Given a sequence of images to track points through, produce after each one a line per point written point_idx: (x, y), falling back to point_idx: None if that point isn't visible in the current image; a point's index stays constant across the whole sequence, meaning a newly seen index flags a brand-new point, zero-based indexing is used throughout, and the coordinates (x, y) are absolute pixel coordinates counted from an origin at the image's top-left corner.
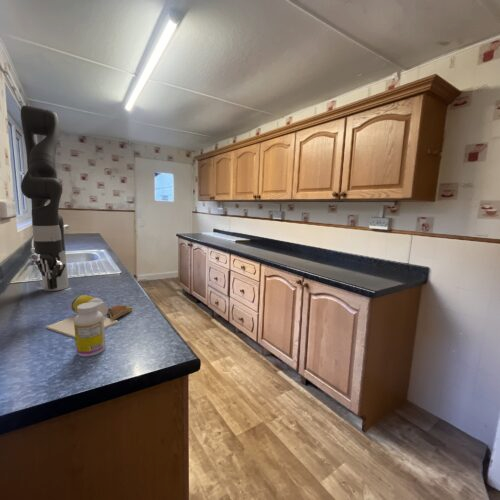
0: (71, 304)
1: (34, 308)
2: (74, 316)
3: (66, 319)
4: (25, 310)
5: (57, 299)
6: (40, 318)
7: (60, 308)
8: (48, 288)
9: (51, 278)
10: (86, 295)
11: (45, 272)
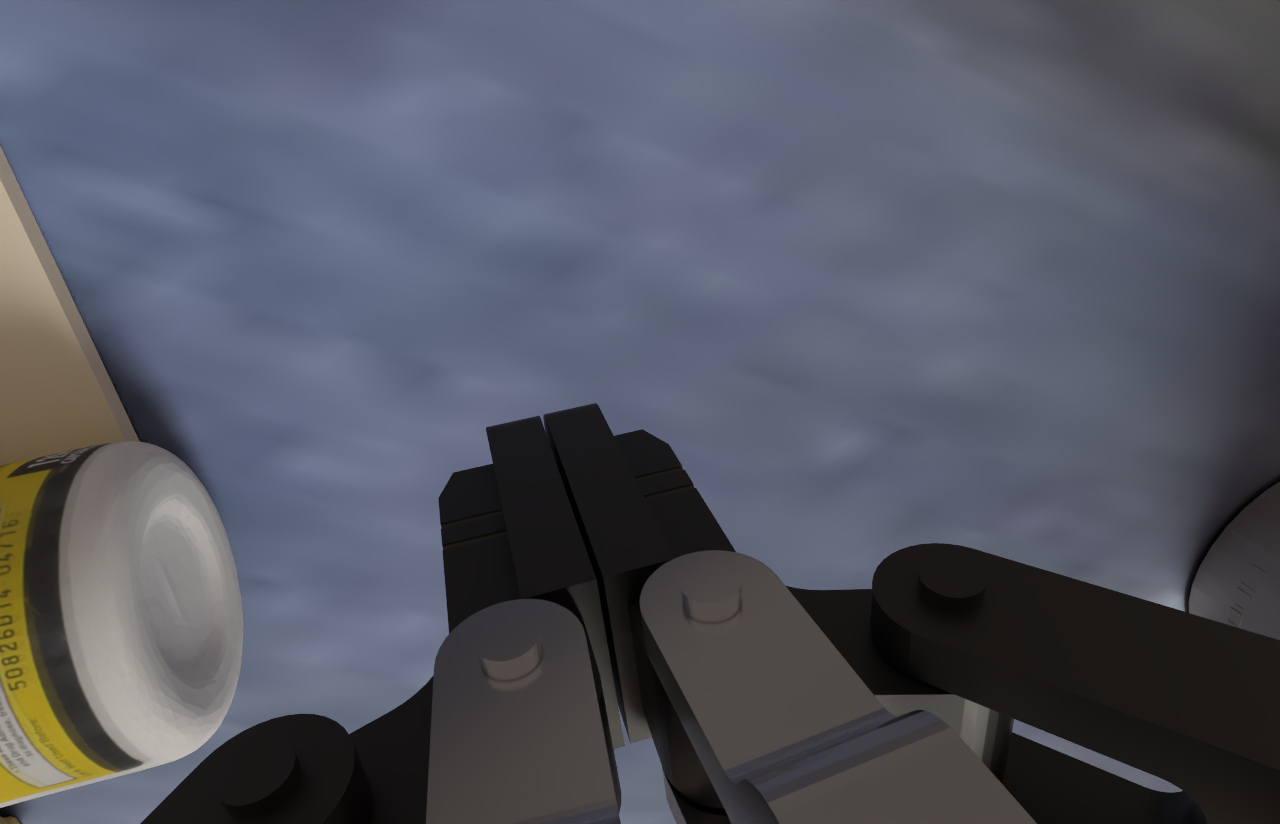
0: (78, 489)
1: (941, 189)
2: (94, 402)
3: (29, 284)
4: (973, 85)
5: (984, 465)
6: (491, 81)
7: (665, 393)
8: (583, 407)
9: (457, 669)
10: (43, 782)
11: (815, 732)
